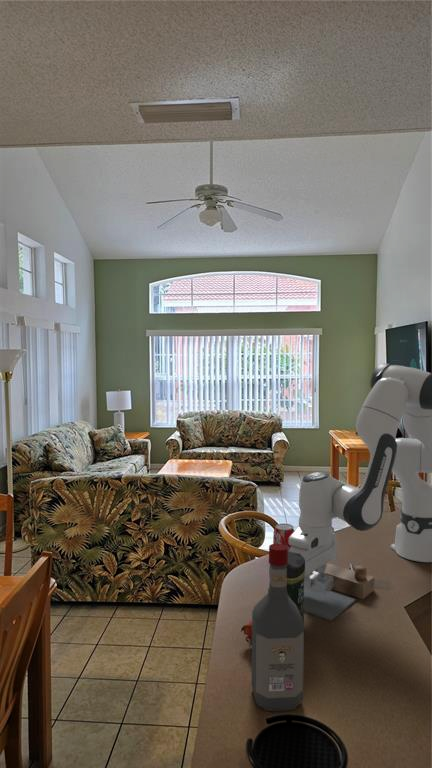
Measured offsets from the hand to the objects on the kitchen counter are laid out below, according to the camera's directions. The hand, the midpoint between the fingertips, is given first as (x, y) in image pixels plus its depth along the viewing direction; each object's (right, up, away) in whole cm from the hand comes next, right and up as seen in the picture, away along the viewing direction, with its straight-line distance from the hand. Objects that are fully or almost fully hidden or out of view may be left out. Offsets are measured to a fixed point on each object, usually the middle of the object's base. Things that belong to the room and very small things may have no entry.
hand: (314, 582), depth 142 cm
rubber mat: (0, -5, +1) cm, 5 cm away
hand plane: (+8, -4, +10) cm, 14 cm away
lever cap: (0, -1, 0) cm, 1 cm away
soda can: (-5, -4, +26) cm, 26 cm away
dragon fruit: (-15, -7, -23) cm, 29 cm away
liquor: (-15, -8, -40) cm, 43 cm away
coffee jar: (-10, -6, -15) cm, 19 cm away
